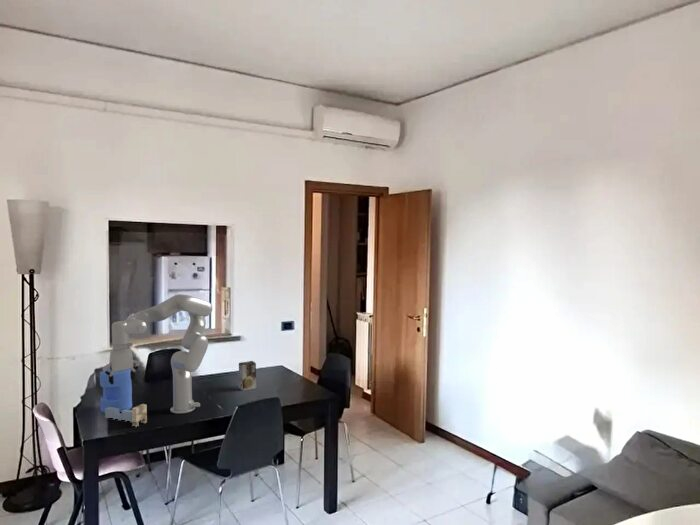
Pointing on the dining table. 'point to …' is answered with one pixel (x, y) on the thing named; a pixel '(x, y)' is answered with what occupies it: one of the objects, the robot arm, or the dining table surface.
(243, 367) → the coffee box
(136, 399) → the dining table surface
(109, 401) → the water jug
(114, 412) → the plain gray rectangular bar
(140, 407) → the notched wooden block
